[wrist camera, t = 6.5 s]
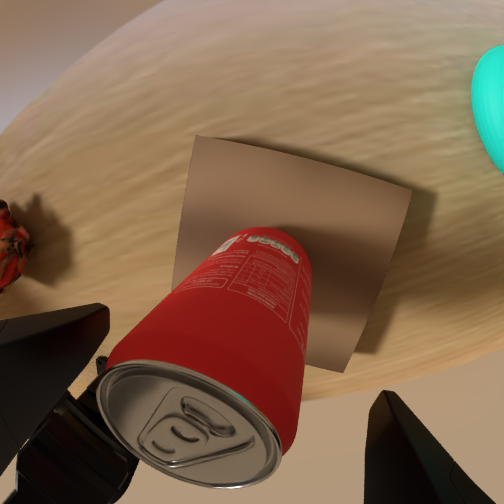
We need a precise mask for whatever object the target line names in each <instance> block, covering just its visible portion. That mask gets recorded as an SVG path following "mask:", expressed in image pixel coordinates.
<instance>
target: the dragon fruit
mask: <svg viewBox="0 0 504 504" xmlns="http://www.w3.org/2000/svg"><path fill="white" fill-rule="evenodd" d="M13 225H14V220H13V218H12V217H11V216H10V211H9V210H8V205H7V203H6V202H5V201H4V200H0V294H3V293H5V292H7V291H8V290H9V288H10V287H11V285H12V284H13V283H14V282H15V281H16V280H17V279H18V278H19V277H20V276H21V272H22V269H23V266H24V264H25V262H26V259H29V257H30V255H31V254H32V252H33V251H34V249H33V248H34V245H33V246H31V247H29V246H28V244H27V242H28V241H29V238H30V235H29V234H28V233H27V232H28V231H26V230H25V227H23V226H22V224H21V225H17V226H18V228H15V229H14V228H13Z"/></svg>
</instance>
